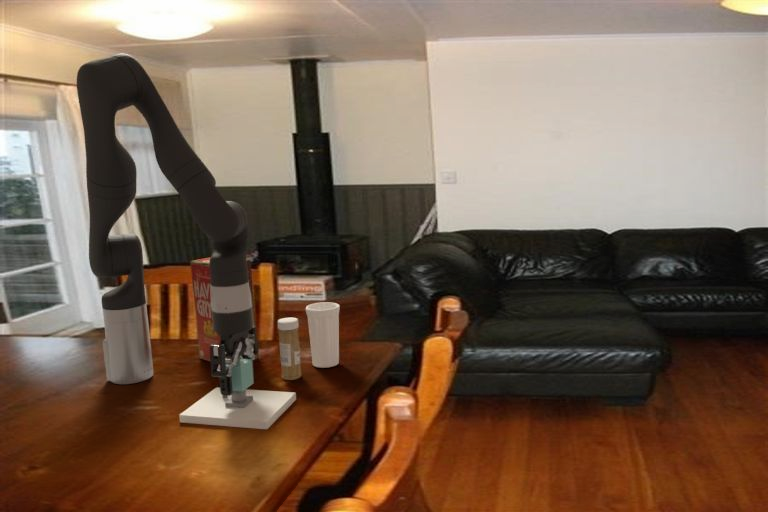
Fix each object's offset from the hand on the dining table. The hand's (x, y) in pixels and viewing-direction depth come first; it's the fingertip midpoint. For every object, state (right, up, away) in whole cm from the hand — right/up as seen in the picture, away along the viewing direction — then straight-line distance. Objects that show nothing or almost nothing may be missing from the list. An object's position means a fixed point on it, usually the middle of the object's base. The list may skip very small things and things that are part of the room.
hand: (238, 386), depth 122 cm
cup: (+15, 0, +26) cm, 30 cm away
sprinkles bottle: (+8, -2, +18) cm, 20 cm away
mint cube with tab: (0, 0, 0) cm, 0 cm away
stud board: (0, -5, +1) cm, 5 cm away
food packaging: (-10, 0, +33) cm, 34 cm away
